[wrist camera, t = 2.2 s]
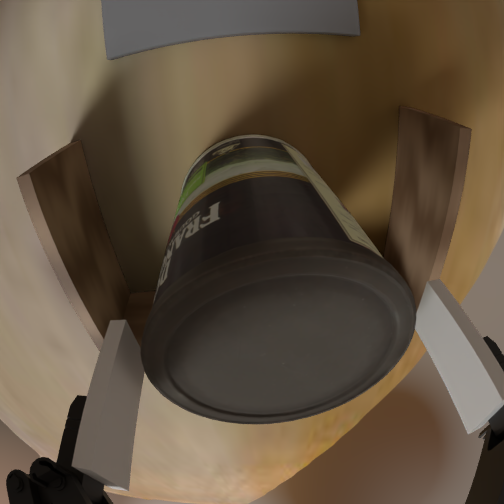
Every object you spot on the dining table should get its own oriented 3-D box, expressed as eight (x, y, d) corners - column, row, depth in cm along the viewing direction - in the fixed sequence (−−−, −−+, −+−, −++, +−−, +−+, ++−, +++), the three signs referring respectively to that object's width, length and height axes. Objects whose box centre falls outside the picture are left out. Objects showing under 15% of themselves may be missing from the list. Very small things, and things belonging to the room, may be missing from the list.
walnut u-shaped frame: (69, 143, 18) (16, 177, 12) (410, 107, 18) (471, 129, 13) (124, 302, 26) (107, 362, 20) (389, 268, 27) (423, 320, 21)
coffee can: (162, 237, 23) (123, 404, 11) (213, 110, 18) (196, 188, 6) (280, 276, 26) (318, 431, 14) (344, 171, 21) (462, 300, 9)
